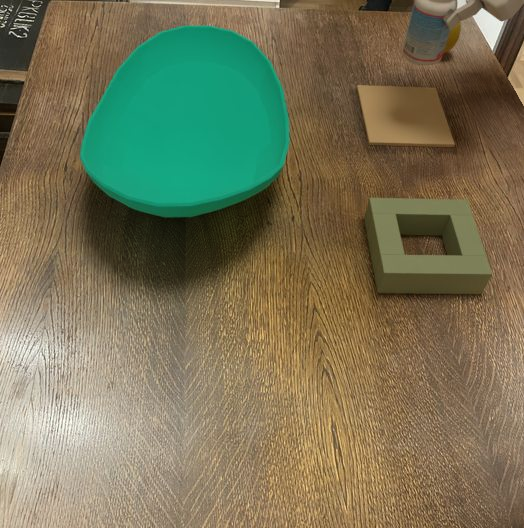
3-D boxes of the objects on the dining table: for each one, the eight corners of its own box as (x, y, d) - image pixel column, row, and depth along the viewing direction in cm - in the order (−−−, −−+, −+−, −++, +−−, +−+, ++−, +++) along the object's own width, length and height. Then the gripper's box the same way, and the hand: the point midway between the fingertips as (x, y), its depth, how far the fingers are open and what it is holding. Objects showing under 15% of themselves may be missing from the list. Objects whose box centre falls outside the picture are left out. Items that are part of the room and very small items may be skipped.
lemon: (421, 58, 113) (433, 14, 106) (425, 44, 116) (437, 0, 109) (450, 65, 112) (464, 21, 106) (454, 50, 115) (468, 6, 109)
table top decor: (272, 295, 78) (280, 218, 67) (60, 271, 78) (34, 191, 68) (293, 113, 101) (301, 34, 90) (128, 96, 101) (117, 15, 90)
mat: (434, 90, 107) (435, 87, 107) (453, 147, 98) (455, 144, 97) (356, 88, 106) (357, 84, 106) (368, 145, 97) (369, 142, 97)
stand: (458, 220, 88) (467, 199, 85) (481, 294, 80) (492, 274, 77) (363, 218, 87) (369, 197, 84) (377, 293, 79) (384, 272, 76)
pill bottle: (444, 68, 91) (469, -11, 82) (404, 66, 91) (425, -13, 82) (437, 46, 95) (460, -32, 85) (398, 44, 94) (417, -34, 85)
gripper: (566, -27, 80) (482, 61, 85) (467, -88, 89) (398, -6, 94) (556, -59, 75) (468, 36, 80) (453, -120, 84) (381, -32, 89)
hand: (429, 12), depth 87 cm, fingers closed on pill bottle, 6 cm apart
